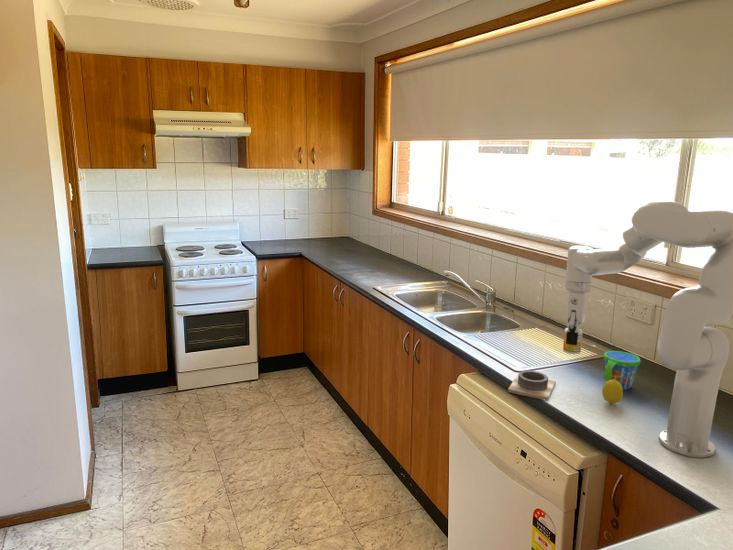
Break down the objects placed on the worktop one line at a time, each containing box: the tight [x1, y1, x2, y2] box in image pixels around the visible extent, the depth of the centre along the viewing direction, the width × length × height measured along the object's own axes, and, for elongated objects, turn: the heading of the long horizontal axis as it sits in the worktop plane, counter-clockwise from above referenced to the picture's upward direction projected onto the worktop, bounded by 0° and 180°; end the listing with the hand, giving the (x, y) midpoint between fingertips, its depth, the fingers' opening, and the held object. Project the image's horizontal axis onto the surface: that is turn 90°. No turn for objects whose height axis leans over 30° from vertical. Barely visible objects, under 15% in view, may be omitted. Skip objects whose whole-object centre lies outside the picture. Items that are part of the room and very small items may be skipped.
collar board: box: [507, 370, 557, 401], centre depth 175 cm, size 14×12×4 cm
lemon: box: [601, 379, 624, 405], centre depth 165 cm, size 6×6×8 cm
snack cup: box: [603, 350, 642, 391], centre depth 178 cm, size 16×10×10 cm
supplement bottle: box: [562, 321, 583, 355], centre depth 176 cm, size 5×5×10 cm
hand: (572, 341), depth 177 cm, fingers closed on supplement bottle, 5 cm apart
